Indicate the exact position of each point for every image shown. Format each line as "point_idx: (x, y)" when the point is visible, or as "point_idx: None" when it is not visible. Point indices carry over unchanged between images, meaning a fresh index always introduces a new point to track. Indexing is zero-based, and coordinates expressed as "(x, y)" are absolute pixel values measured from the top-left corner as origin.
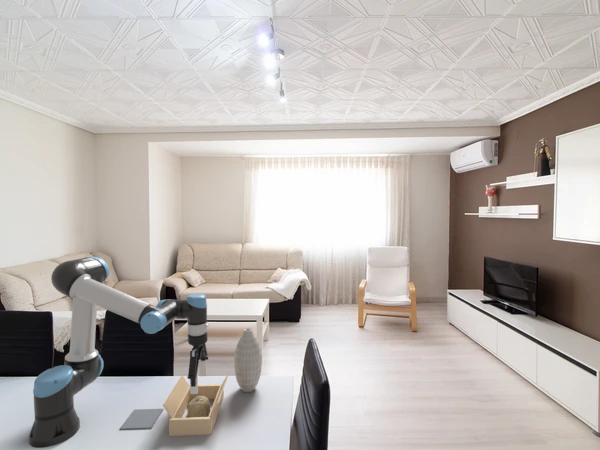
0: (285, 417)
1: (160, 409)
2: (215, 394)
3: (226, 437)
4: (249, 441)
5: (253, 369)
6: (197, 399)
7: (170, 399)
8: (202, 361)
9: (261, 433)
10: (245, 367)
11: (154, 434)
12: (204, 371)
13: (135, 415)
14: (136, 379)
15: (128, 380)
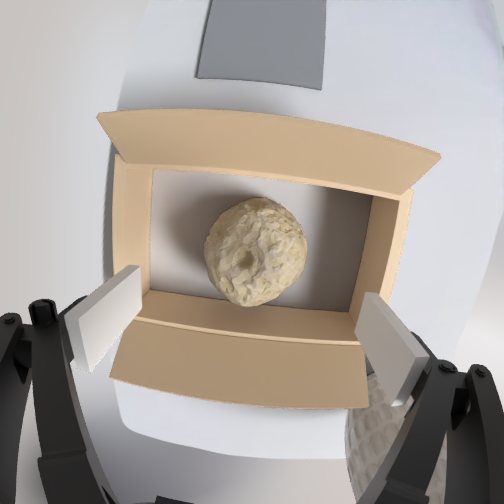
0: (209, 449)
1: (316, 79)
2: (358, 303)
3: None
4: (122, 382)
5: (348, 472)
6: (252, 258)
7: (173, 127)
8: (402, 381)
9: (150, 406)
10: (355, 467)
11: (162, 101)
12: (367, 341)
13: (286, 8)
14: (487, 20)
15: (479, 3)
